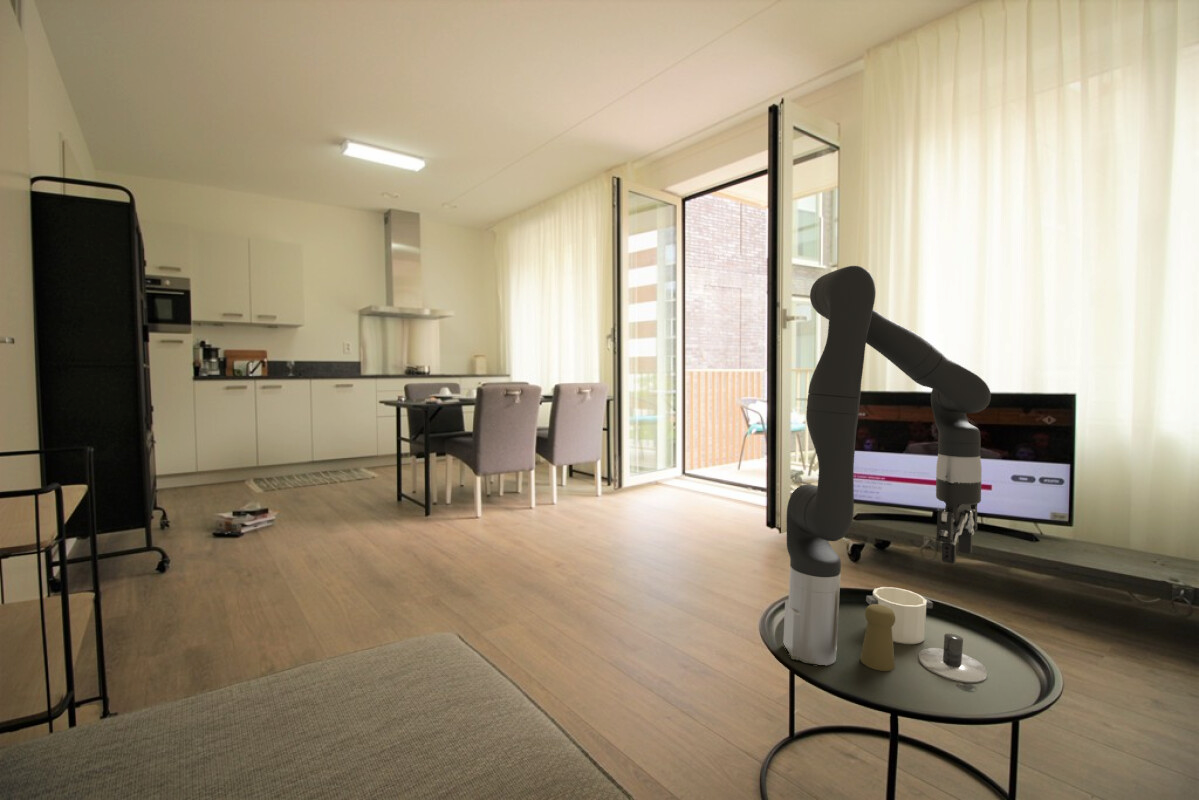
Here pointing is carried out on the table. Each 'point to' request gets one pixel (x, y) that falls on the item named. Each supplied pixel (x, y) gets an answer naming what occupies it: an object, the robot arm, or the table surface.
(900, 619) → the pot
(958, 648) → the lid
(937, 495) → the robot arm
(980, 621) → the table surface
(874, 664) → the cork
